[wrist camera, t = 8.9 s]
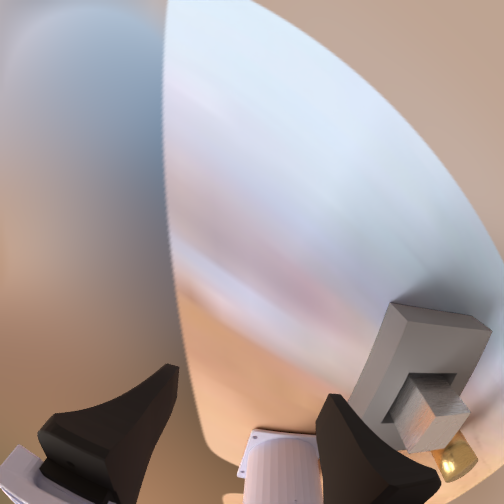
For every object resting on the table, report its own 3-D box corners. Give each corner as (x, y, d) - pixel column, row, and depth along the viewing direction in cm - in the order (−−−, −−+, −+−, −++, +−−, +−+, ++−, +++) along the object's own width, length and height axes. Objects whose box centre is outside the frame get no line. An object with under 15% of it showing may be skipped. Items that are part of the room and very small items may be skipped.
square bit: (416, 400, 22) (444, 448, 15) (383, 399, 22) (408, 453, 15) (435, 366, 21) (470, 412, 14) (401, 365, 21) (435, 416, 14)
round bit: (444, 443, 25) (463, 478, 18) (420, 447, 25) (438, 485, 18) (461, 419, 24) (484, 454, 17) (437, 423, 24) (460, 462, 17)
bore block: (413, 426, 24) (423, 447, 20) (334, 428, 24) (339, 453, 20) (471, 315, 21) (492, 331, 17) (389, 302, 21) (407, 321, 17)
